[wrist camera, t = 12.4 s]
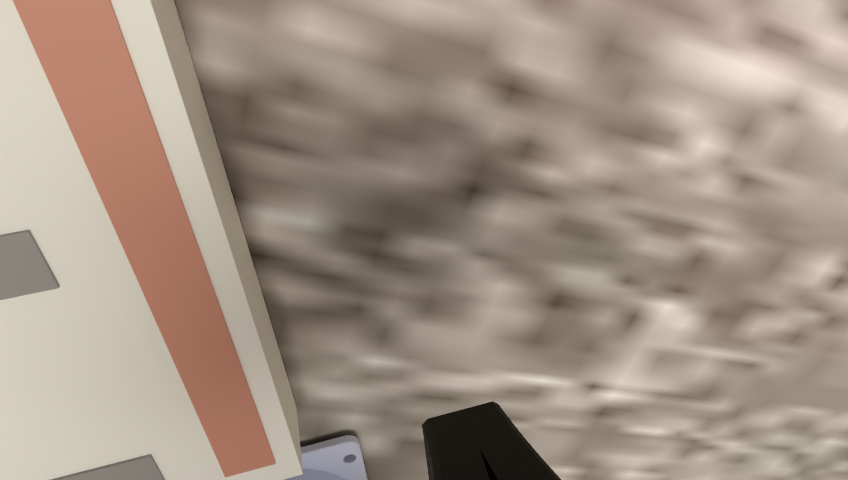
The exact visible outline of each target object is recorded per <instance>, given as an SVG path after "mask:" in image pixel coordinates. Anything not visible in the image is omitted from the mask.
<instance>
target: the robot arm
mask: <svg viewBox="0 0 848 480" xmlns="http://www.w3.org/2000/svg"><path fill="white" fill-rule="evenodd" d="M422 427H423V435H424V443H425V450H426V458H427V466H428V473H429V480H561V479H560V478H559V477H558V476H557V475H556V474H555V472H554V471H553V470H552V469H551V468H550V467H549V466H548V465H547V464H546V462H545V461H544V460H543V459H542V458H541V457H540V456H539V454H538V453H537V452H536V451H535V450H534V449H533V447H532V446H531V445H530V444H529V443H528V442H527V440H526V439H525V438H524V437H523V435H522V434H521V433H520V432H519V431H518V429H517V428H516V427H515V426H514V424H513V423H512V422H511V420H510V419H509V418H508V417H507V415H506V414H505V413H504V411H503V410H502V408H501V407H500V406H499V404H497V403H495V402H489V403H486V404H482V405H478V406H474V407H471V408H467V409H463V410H459V411H456V412H452V413H448V414H444V415H441V416H437V417H433V418H429V419H427V420H426V421H425V422H424V424H423V425H422ZM300 449H301V459H302V469H303V474H302V475H298V476H295V477H291V478H287V479H284V480H368V479H367V475H366V470H365V466H364V461H363V457H362V453H361V448H360V444H359V440H358V438H357V437H355V436H351V435H346V436H342V437H338V438H334V439H330V440H327V441H323V442H319V443H315V444H312V445H308V446H304V447H300Z"/></svg>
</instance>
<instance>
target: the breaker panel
mask: <svg viewBox="0 0 848 480" xmlns="http://www.w3.org/2000/svg"><path fill="white" fill-rule="evenodd" d="M302 474H303V469H302V459H301V449H300V439H299V429H298V419H297V409H296V404H295V401H294V398H293V394H292V391H291V388H290V384H289V381H288V378H287V374H286V371H285V368H284V364H283V361H282V358H281V354H280V351H279V348H278V344H277V341H276V338H275V334H274V331H273V328H272V325H271V321H270V318H269V315H268V311H267V308H266V305H265V301H264V298H263V295H262V291H261V288H260V285H259V281H258V278H257V275H256V271H255V268H254V265H253V261H252V258H251V255H250V251H249V248H248V245H247V242H246V238H245V235H244V232H243V228H242V225H241V222H240V218H239V215H238V212H237V208H236V205H235V202H234V198H233V195H232V192H231V188H230V185H229V182H228V178H227V175H226V172H225V168H224V165H223V162H222V159H221V155H220V152H219V149H218V145H217V142H216V139H215V135H214V132H213V129H212V125H211V122H210V119H209V115H208V112H207V109H206V105H205V102H204V99H203V95H202V92H201V89H200V85H199V82H198V79H197V76H196V72H195V69H194V66H193V62H192V59H191V56H190V52H189V49H188V46H187V42H186V39H185V36H184V32H183V29H182V26H181V22H180V19H179V16H178V12H177V9H176V6H175V2H174V0H0V480H284V479H287V478H291V477H295V476H298V475H302Z"/></svg>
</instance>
